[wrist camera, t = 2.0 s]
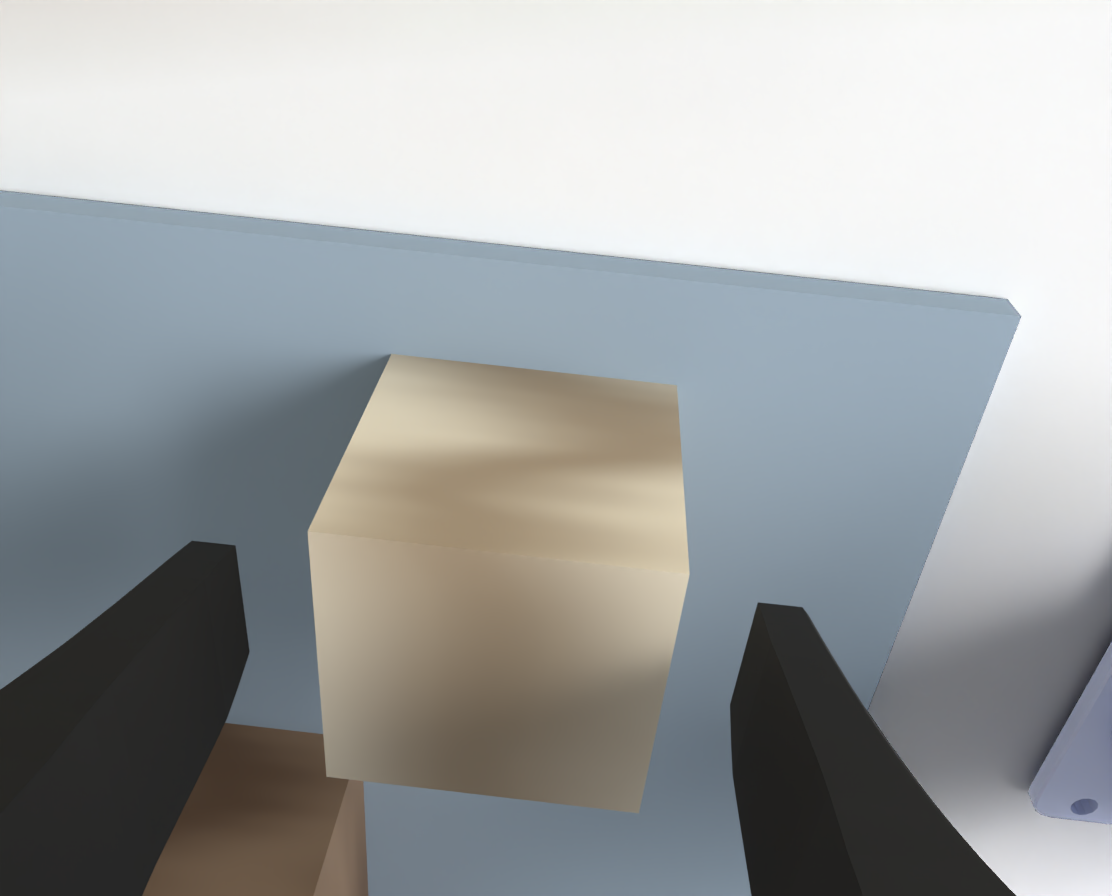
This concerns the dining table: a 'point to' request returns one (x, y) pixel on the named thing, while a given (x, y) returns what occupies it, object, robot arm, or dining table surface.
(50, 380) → the mat
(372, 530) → the maple cube
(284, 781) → the walnut base
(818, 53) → the dining table surface
